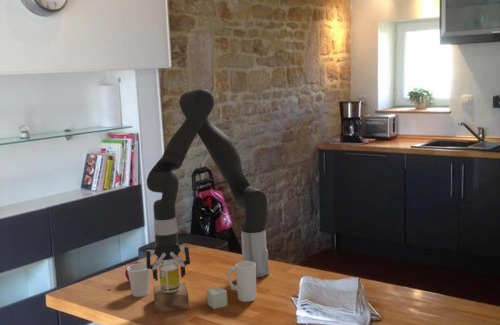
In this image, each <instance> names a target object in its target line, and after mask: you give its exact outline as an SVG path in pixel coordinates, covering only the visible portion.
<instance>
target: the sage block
mask: <svg viewBox="0 0 500 325" xmlns="http://www.w3.org/2000/svg"><path fill="white" fill-rule="evenodd" d="M206 295H207V296H206V297H207V304H208V306H209V307H211V308H212V309H214V310H215V309H219V308H220V309H221V308H224V307H227V306H228V292H227V290H226V289H225V288H223V287H221V286H217V287H213V288H210V289H206Z"/></svg>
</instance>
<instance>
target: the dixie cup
mask: <svg viewBox="0 0 500 325" xmlns="http://www.w3.org/2000/svg"><path fill="white" fill-rule="evenodd" d="M129 265H130V264H129ZM126 268H127V271H128V275H129V280H130V281H129V280H128V281H129V284H130V288H131V293H132V296H133V297H136V298H141V297H142V298H143V297H145V296H148V295H149V294H150V276H151V275H150V274H151V269H147V262H146V263H145V262H142V263H137V264H133V265H130V266H128V265H127V267H126Z"/></svg>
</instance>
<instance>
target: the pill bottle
mask: <svg viewBox="0 0 500 325" xmlns="http://www.w3.org/2000/svg"><path fill="white" fill-rule="evenodd" d="M158 267H159V268H158V269H159V281H160V282H159V283H160V285H161V291H162V292H164V293H173V292H176V291H178V290H179V283H180V277H179V266H178V264H177V262H176V260H175V259H168V260H162V261H161V263H160V264H159V266H158Z"/></svg>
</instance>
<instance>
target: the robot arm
mask: <svg viewBox="0 0 500 325" xmlns="http://www.w3.org/2000/svg"><path fill="white" fill-rule="evenodd" d="M214 106H215V99H214V96H213V94H212V92H211V91H210V90H208V89H206V88H198V89H194V90H191V91H187V92H185V93H183V94H182V95H181V96H180V98H179V107H180V110H181V112H182V114H183V115H184V117H185V120H184V122H183V123H182V124H181V125H180V127H179V128H177V130H176V131H175V132H174V134H173V135H172V137H171V138H170V140H169V141H168V143H167V145H166V148H165V149H164V152H163V154H162V156H161V157H160V159H159V160H158V161H157V162H156V163H155V164H154V166H153V167H152V168H151V170H150V171H149V173H148V174H147V178H146V186H147V189H148V190H149V191H151V192H153V193H160V194H161V195H162V196H161V198H160V199H157V200H155V201H154V202H153V219H154V220H153V229H154V230H153V232H154V243H155V244H154V245H155V246H154V247H155V249H149V248H147V249H146V252H145V253H146V255H145V256H146V259H145V260H146V263H147V269H150V270H152V277H153V278H152V279H154V280H155V282H156V281H158V279H159V278H158V267H159V266H160V265H161V261H162V260H168V259H175V262H176V263H178V264H179V266H180V277H181V278H185V276H186V266H187V265H188V266H189V265H190V264H191V261H190V260H191V259H190V251H189V247H188V245H184V246H181V247H180V245H179V237H178V236H179V234H178V233H179V232H178V231H179V230H178V229H179V228H178V221H177V216H176V215H177V214H176V202H177V197H178V192H179V191H178V190H179V185H180V184H179V179H178V178H179V177H178V176H177V175H176V174H175V173H174V172H173V171H176V170H179V169H180V168H181V167H182V165H183V163H184V161H185V158H186V155H187V154H188V152H189V150H190V147H191V145H192V144H193V141H194V139H195V138H196V137H197V135H198V136H199V139H200V140H201V142H202V143H203V145H204V147H205V148H206V150H207V151H208V153H209V156H210V157H211V160H212V161H213V163H214V164H215V165H216V168H218V170H219V172H220V174H221V176H222V177H223V178H224V181H225V182H226V183H227V185H228V187H229V189H230V192H231V193H232V196H233V198H234V200H235V202H236V205H237V206H238V208H240V209H241V210H242V211H244V212H245V214H244V216H245V218H244V220H243V221H242V222H241V224H240V231H241V232H240V233H241V234H240V235H241V236H240V237H241V250H242V251H241V253H242V254H241V255H242V256H241V257H242V262H243V261H250V262H254V263H255V264H256V265H255V266H256V279H257V278H261V277H262V278H263V277H265V276H269V275H270V268H269V251H268V249H267V234H266V231H267V230H266V226H267V222H268V199H267V195H266V194H265V192H264V191H263V190H261V189H259V188H255V187H253V186H252V185H251V183H250V182H249V181H248V179H247V177H246V176H245V174H244V172H243V167H242V161H241V157H240V154H239V152H238V150H237V148H236V147H235V145H234V143H233V141H232V140H231V138H229V136H227V135H226V133H224V132H223V131H221V130H220V129H219V128H218V127H216V125H215V124H213V123H212V121H211V120H210V118H209V115H210V114H211V113H212V111H213V109H214ZM180 252H182V253H183V254H184V255H185V260H183V259H182V258H181V257H180V255H179V254H180ZM154 255H155V256H156V258H155V260H154V262H153V263H151V258H152V257H153V256H154Z"/></svg>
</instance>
